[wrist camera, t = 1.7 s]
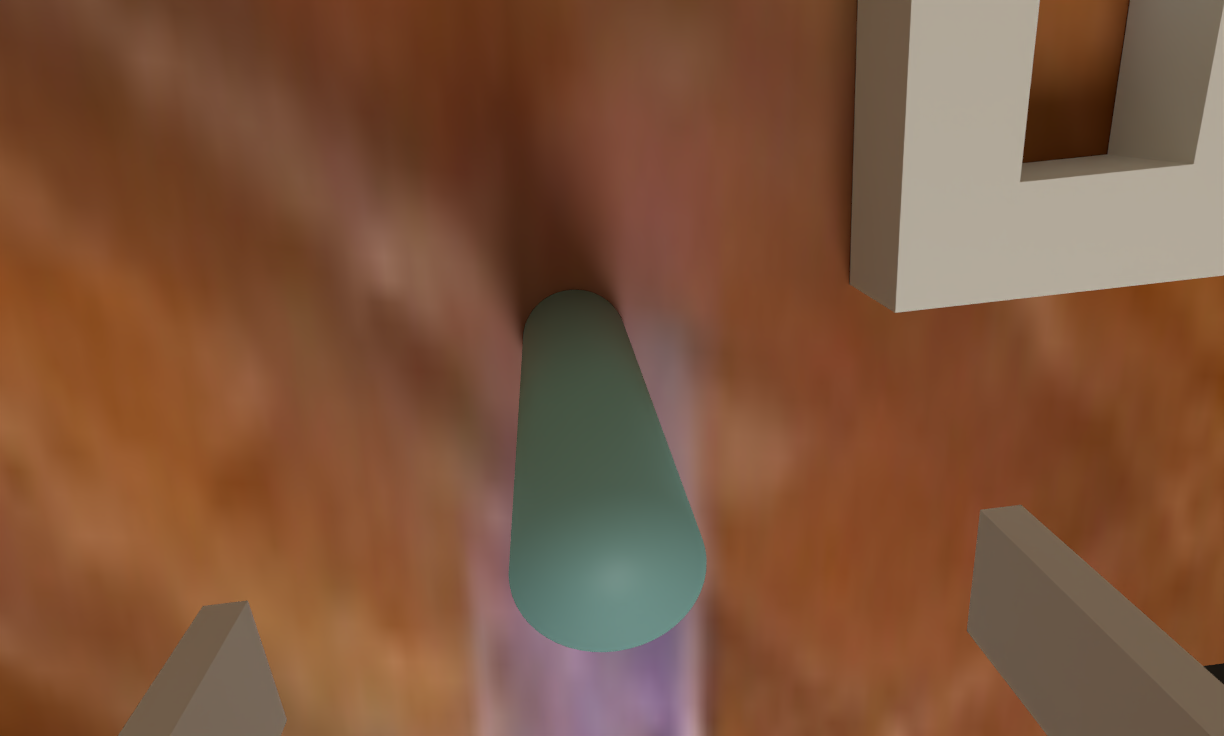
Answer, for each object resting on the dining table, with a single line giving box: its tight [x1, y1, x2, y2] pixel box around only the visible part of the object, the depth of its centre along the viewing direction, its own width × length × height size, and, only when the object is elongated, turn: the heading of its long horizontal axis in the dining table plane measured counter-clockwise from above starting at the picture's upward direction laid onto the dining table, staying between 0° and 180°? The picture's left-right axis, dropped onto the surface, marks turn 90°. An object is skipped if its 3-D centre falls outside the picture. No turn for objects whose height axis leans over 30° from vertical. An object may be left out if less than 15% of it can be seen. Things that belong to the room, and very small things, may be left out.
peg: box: [509, 290, 706, 652], centre depth 22 cm, size 4×4×15 cm
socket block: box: [850, 0, 1224, 313], centre depth 25 cm, size 14×14×4 cm
